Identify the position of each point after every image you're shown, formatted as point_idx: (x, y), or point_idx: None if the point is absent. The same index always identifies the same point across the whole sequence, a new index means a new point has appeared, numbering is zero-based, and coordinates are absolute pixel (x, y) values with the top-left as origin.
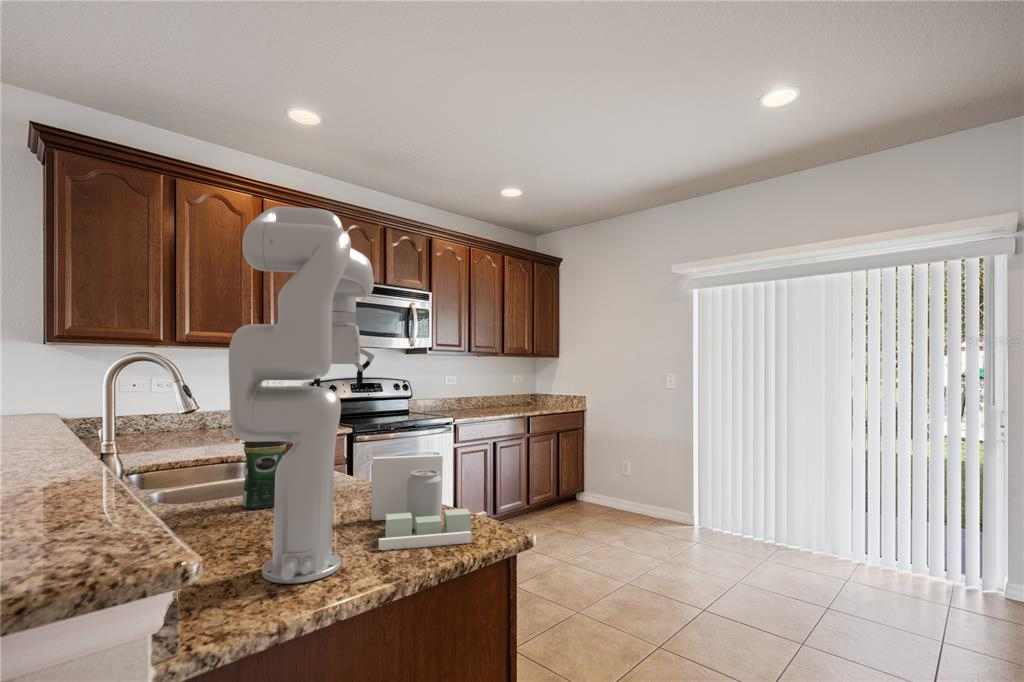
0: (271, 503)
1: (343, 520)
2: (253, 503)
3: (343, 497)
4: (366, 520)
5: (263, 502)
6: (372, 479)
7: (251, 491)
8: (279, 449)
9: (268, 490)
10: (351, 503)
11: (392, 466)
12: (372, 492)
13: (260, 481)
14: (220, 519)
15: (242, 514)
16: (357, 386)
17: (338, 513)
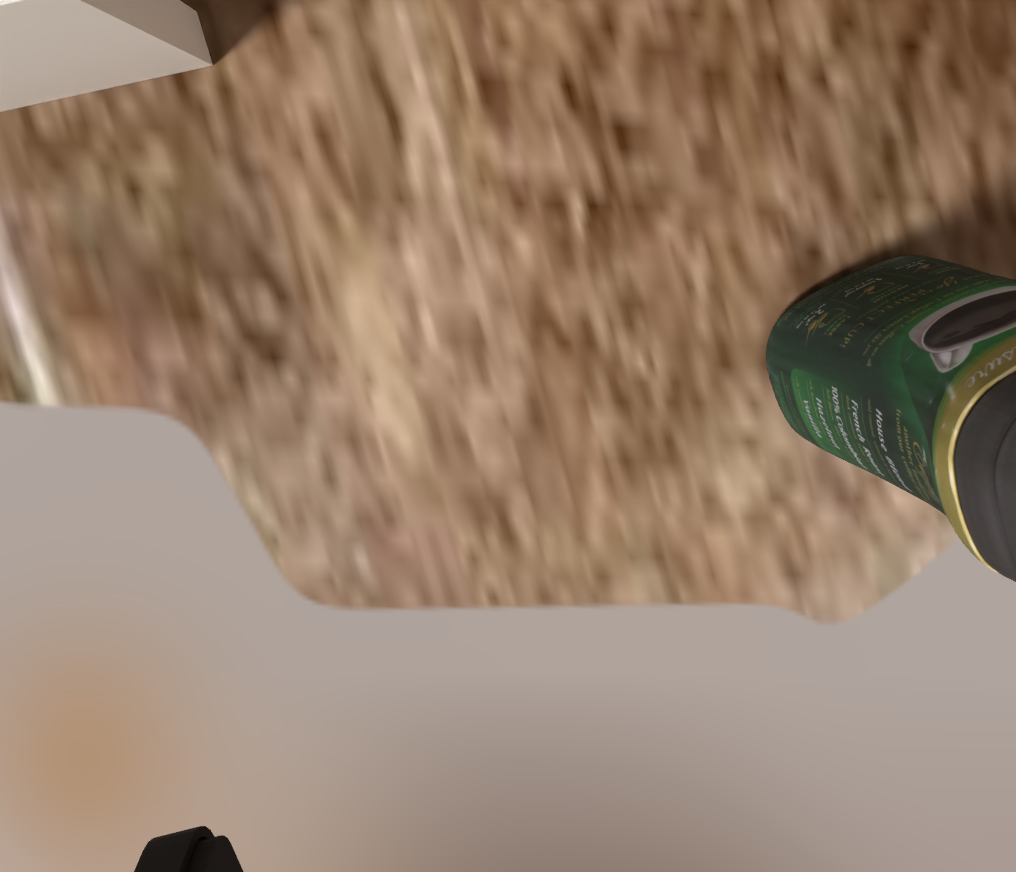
0: (816, 292)
1: (360, 29)
2: (903, 258)
3: (488, 495)
4: (229, 21)
5: (857, 275)
6: (132, 17)
7: (955, 264)
8: (966, 387)
9: (868, 295)
10: (412, 375)
11: None
12: None
13: (943, 283)
14: (998, 84)
15: (916, 174)
16: (198, 828)
17: (427, 174)
